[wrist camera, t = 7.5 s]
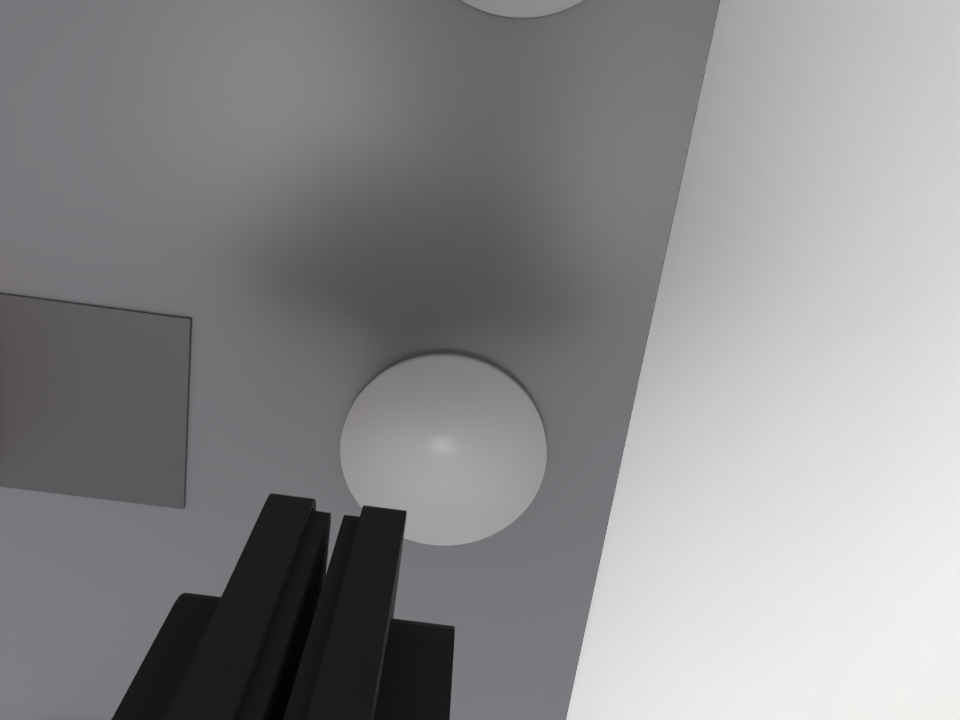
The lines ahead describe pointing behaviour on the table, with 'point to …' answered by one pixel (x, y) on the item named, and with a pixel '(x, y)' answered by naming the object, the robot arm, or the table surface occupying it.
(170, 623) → the robot arm
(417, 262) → the switch panel
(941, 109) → the table surface
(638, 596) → the table surface
